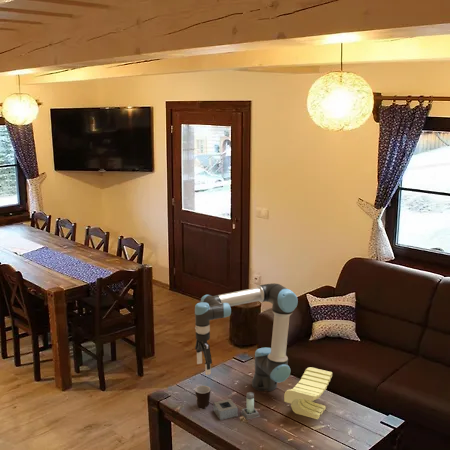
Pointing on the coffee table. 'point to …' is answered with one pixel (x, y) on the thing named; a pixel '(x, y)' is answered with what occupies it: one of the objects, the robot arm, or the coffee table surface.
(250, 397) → the plug
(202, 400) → the coffee mug
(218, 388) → the coffee table surface
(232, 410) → the port block
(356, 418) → the coffee table surface
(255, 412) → the grey square open tray
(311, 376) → the slatted curved stool
